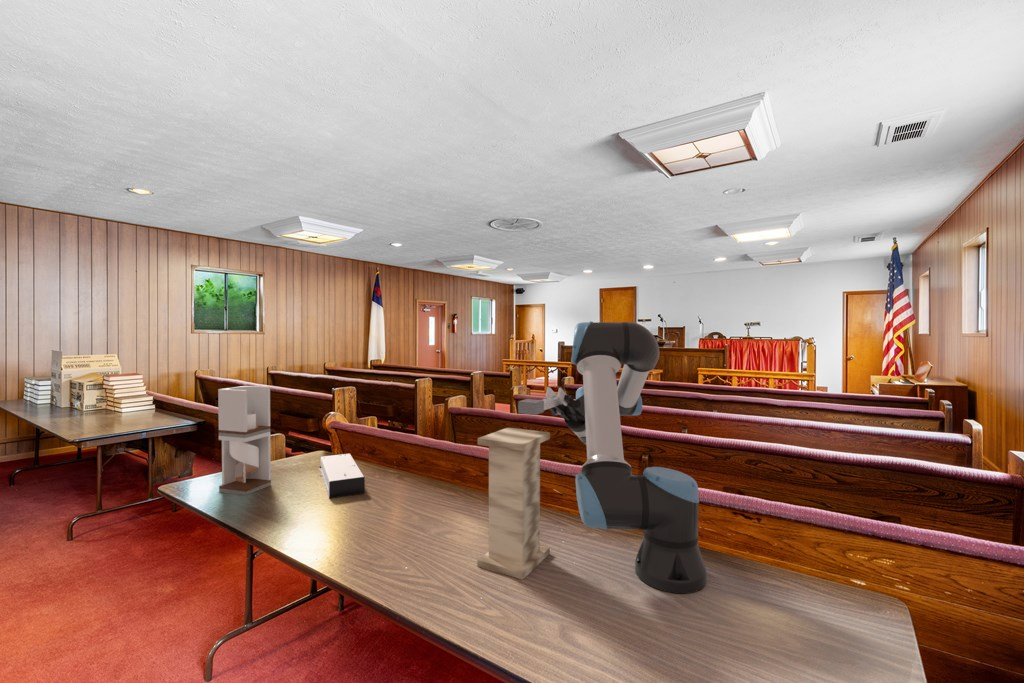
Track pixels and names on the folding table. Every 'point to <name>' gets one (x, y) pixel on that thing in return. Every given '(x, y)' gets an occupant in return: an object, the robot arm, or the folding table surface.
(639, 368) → the robot arm
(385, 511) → the folding table surface
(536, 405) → the grey long bar
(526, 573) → the pedestal
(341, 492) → the laminator
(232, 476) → the white tower
